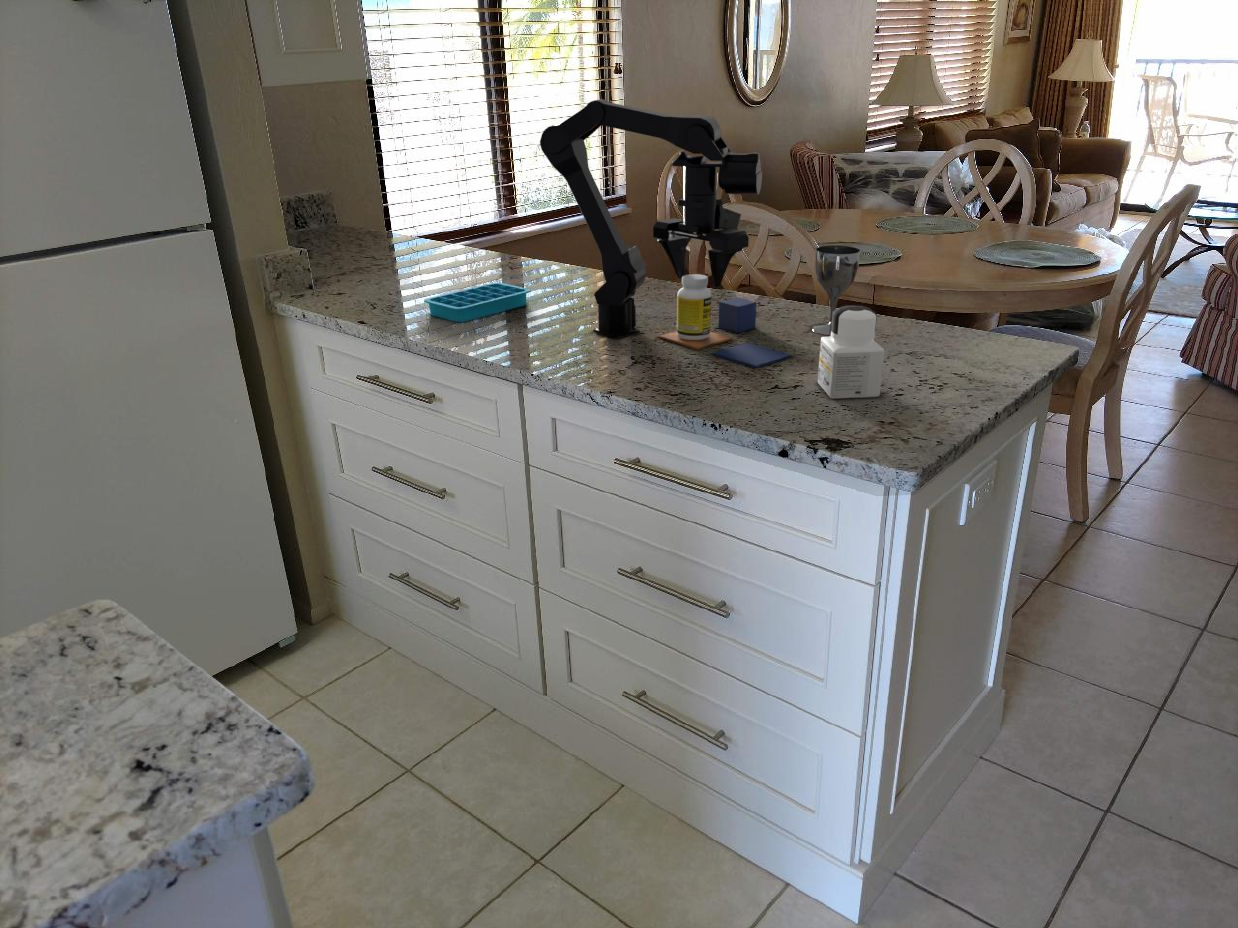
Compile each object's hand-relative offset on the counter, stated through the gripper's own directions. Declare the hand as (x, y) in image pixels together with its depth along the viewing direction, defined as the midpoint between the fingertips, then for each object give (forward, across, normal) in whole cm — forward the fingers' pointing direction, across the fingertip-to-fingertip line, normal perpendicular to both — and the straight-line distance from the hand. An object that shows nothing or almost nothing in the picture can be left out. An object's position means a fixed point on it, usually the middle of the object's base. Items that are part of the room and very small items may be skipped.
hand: (698, 282), depth 172 cm
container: (+11, -36, +2) cm, 37 cm away
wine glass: (+11, -13, -23) cm, 28 cm away
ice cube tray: (+10, +45, +18) cm, 50 cm away
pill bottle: (+10, 0, +1) cm, 10 cm away
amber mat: (+10, 0, 0) cm, 10 cm away
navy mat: (+10, -14, 0) cm, 17 cm away
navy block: (+10, 0, -11) cm, 15 cm away
